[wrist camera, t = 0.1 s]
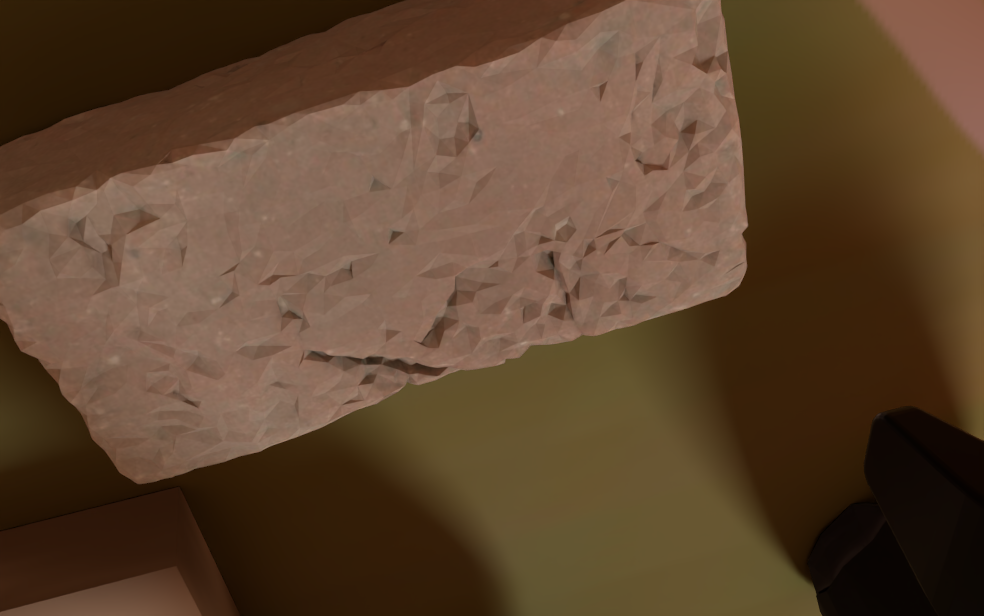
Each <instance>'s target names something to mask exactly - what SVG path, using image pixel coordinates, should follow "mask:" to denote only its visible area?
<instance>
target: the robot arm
mask: <svg viewBox="0 0 984 616" xmlns="http://www.w3.org/2000/svg"><path fill="white" fill-rule="evenodd" d="M864 473H865V477H866V480H867V483H868V485H869V487H870V489H871V491H872V493H873V495H874V497H875V499H876V501H877V503H878V505H879V507H880V509H881V510H882V512H883V514H884V516H885V518H886V520H887V522H888V524H889V526H890V528H891V530H892V532H893V534H894V535H895V537H896V539H897V541H898V543H899V545H900V547H901V549H902V551H903V553H904V555H905V557H906V559H907V560H908V562H909V564H910V566H911V568H912V570H913V572H914V574H915V576H916V578H917V580H918V582H919V584H920V585H921V587H922V589H923V591H924V593H925V594H926V596H927V598H928V600H929V602H930V603H931V605H932V607H933V608H934V610H935V611H936V613H937V615H938V616H984V441H983V440H981V439H979V438H977V437H975V436H973V435H971V434H969V433H967V432H965V431H963V430H961V429H959V428H957V427H955V426H953V425H951V424H949V423H947V422H945V421H943V420H941V419H939V418H937V417H935V416H933V415H931V414H929V413H927V412H925V411H923V410H922V409H919V408H916V407H913V406H904V407H900V408H896V409H892V410H889V411H885V412H881V413H879V414H877V415H876V417H875V418H874V419H873V422H872V425H871V430H870V435H869V440H868V445H867V450H866V455H865V460H864Z"/></svg>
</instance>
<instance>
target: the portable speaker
mask: <svg viewBox="0 0 984 616" xmlns="http://www.w3.org/2000/svg"><path fill="white" fill-rule="evenodd" d="M808 566H809V569H810V573H811V576H812V580H813V583H814V587H815V590H816V594H817V595H816V597H817V601H818V605H819V609H820V612H821V614H822V616H938V615H937V613H936V611H935V610H934V608H933V607H932V605H931V603H930V602H929V600H928V598H927V596H926V594H925V593H924V591H923V589H922V587H921V585H920V584H919V582H918V580H917V578H916V576H915V574H914V572H913V570H912V568H911V566H910V564H909V562H908V560H907V559H906V557H905V555H904V553H903V551H902V549H901V547H900V545H899V543H898V541H897V539H896V537H895V535H894V534H893V532H892V530H891V528H890V526H889V524H888V522H887V520H886V518H885V516H884V514H883V512H882V510H881V509H880V507H879V505H876V504H871V503H861V504H851V505H850V506H849V507H848V508H847V509H846V510H845V511H844V512H843V513H842V514H841V515H840V516H839V517H838V518H837V519H836V520H835V521H834V522H833V523H832V524H831V525H830V526H829V527H828V528H827V529H826V530H825V531H824V532H823V533H822V534H821V536H820V538H819V540H818V542H817V544H816V546H815V548H814V550H813V552H812V554H811V556H810V558H809V560H808Z"/></svg>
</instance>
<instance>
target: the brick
mask: <svg viewBox="0 0 984 616" xmlns="http://www.w3.org/2000/svg"><path fill="white" fill-rule="evenodd" d="M747 226H748V221H747V213H746V207H745V188H744V168H743V154H742V142H741V133H740V125H739V117H738V112H737V107H736V102H735V96H734V88H733V81H732V73H731V67H730V61H729V55H728V48H727V39H726V30H725V20H724V17H723V14H722V12H721V0H405V1H402V2H399V3H396V4H393V5H390V6H387V7H385V8H382V9H380V10H377V11H375V12H372V13H368V14H363V15H359V16H356V17H353V18H350V19H347V20H344V21H343V22H341V23H339V24H337V25H336V26H334V27H332V28H331V29H329V30H327V31H326V32H321V33H316V34H310V35H306V36H304V37H301V38H298V39H296V40H294V41H292V42H290V43H288V44H285V45H282V46H280V47H277V48H275V49H273V50H270V51H268V52H267V53H265V54H263V55H262V56H260V57H255V58H250V59H245V60H242V61H239V62H237V63H234V64H231V65H228V66H225V67H223V68H219V69H216V70H213V71H210V72H208V73H205V74H202V75H200V76H198V77H196V78H194V79H192V80H190V81H187V82H185V83H183V84H181V85H178V86H176V87H174V88H172V89H170V90H165V91H159V92H154V93H149V94H144V95H140V96H137V97H134V98H131V99H128V100H126V101H123V102H121V103H116V104H112V105H108V106H104V107H100V108H96V109H93V110H90V111H87V112H84V113H81V114H78V115H75V116H72V117H69V118H66V119H64V120H62V121H60V122H58V123H56V124H55V125H53V126H51V127H49V128H47V129H44V130H42V131H39V132H36V133H33V134H29V135H25V136H22V137H20V138H18V139H16V140H13V141H11V142H9V143H7V144H5V145H3V146H1V147H0V319H1V320H3V321H4V322H6V323H7V325H8V327H9V329H10V331H11V334H12V336H13V338H14V340H15V342H16V344H17V345H18V347H19V349H20V350H21V351H22V352H24V353H26V354H28V355H31V356H33V357H35V358H37V359H38V360H39V361H40V362H41V364H42V365H43V367H44V368H45V369H46V371H47V372H48V373H49V374H50V375H51V376H52V377H53V378H54V380H55V381H56V382H57V383H58V384H59V387H60V390H61V393H62V395H63V396H64V397H65V398H66V399H67V400H68V401H69V402H70V403H71V404H72V405H74V406H75V407H76V408H77V409H78V411H79V412H80V413H81V415H82V417H83V419H84V421H85V423H86V425H87V427H88V430H89V432H90V435H91V438H92V440H94V441H95V442H96V443H97V444H98V445H99V446H100V447H101V448H102V449H103V450H104V451H105V452H106V453H107V455H108V456H109V457H110V459H111V460H112V462H113V463H114V465H115V466H116V468H117V470H118V471H119V473H121V474H123V475H124V476H126V477H127V478H129V479H131V480H132V481H134V482H135V483H137V484H144V483H150V482H156V481H158V480H161V479H164V478H173V477H174V476H177V475H181V474H184V473H186V472H189V471H191V470H193V469H196V468H200V467H205V466H209V465H213V464H218V463H222V462H226V461H228V460H231V459H234V458H236V457H239V456H243V455H247V454H252V453H256V452H260V451H262V450H264V449H266V448H268V447H270V446H273V445H275V444H278V443H281V442H284V441H287V440H290V439H293V438H295V437H298V436H301V435H303V434H306V433H309V432H311V431H314V430H316V429H319V428H321V427H324V426H326V425H328V424H330V423H331V422H333V421H335V420H337V419H339V418H341V417H343V416H345V415H347V414H349V413H351V412H353V411H355V410H358V409H361V408H364V407H367V406H370V405H374V404H377V403H379V402H380V401H382V400H384V399H386V398H388V397H389V396H391V395H393V394H395V393H397V392H398V391H400V390H401V389H402V388H403V387H404V386H405V384H406V382H407V381H408V383H412V384H416V385H420V384H424V383H427V382H431V381H434V380H437V379H439V378H441V377H443V376H445V375H447V374H449V373H452V372H455V371H458V370H473V369H479V368H485V367H491V366H496V365H500V364H503V363H505V359H509V358H519V357H520V356H521V355H522V354H523V353H524V352H525V351H526V350H527V349H528V348H529V347H530V346H531V345H546V344H556V343H561V342H567V341H572V340H574V339H576V338H578V337H579V336H581V335H589V336H596V335H599V334H603V333H607V332H609V331H611V330H614V329H619V328H623V327H628V326H633V325H636V324H638V323H640V322H642V321H646V320H649V319H652V318H656V317H659V316H663V315H666V314H669V313H673V312H676V311H680V310H683V309H687V308H689V307H692V306H695V305H698V304H700V303H703V302H706V301H710V300H713V299H716V298H719V297H723V296H726V295H728V294H729V293H730V292H732V291H733V290H734V289H736V288H737V287H738V286H739V285H740V283H741V281H742V279H743V277H744V275H745V273H746V269H747V261H746V242H745V240H744V238H743V235H742V233H743V232H744V230H745V229H746V228H747Z"/></svg>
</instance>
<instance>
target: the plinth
mask: <svg viewBox="0 0 984 616" xmlns="http://www.w3.org/2000/svg"><path fill="white" fill-rule="evenodd" d="M0 616H240V614H239V612H238V610H237V607H236V605H235V603H234V601H233V599H232V597H231V595H230V593H229V591H228V588H227V586H226V584H225V582H224V580H223V578H222V576H221V574H220V572H219V569H218V567H217V565H216V563H215V561H214V559H213V557H212V555H211V552H210V550H209V548H208V546H207V544H206V542H205V540H204V538H203V536H202V533H201V531H200V529H199V527H198V525H197V523H196V521H195V519H194V517H193V514H192V512H191V510H190V508H189V506H188V504H187V502H186V500H185V498H184V495H183V493H182V491H181V489H180V487H175V488H172V489H168V490H164V491H160V492H156V493H152V494H148V495H144V496H140V497H136V498H132V499H128V500H124V501H120V502H116V503H112V504H108V505H104V506H100V507H96V508H92V509H88V510H84V511H80V512H76V513H72V514H68V515H64V516H60V517H56V518H52V519H48V520H44V521H40V522H36V523H32V524H28V525H24V526H20V527H16V528H13V529H9V530H5V531H1V532H0Z"/></svg>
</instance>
